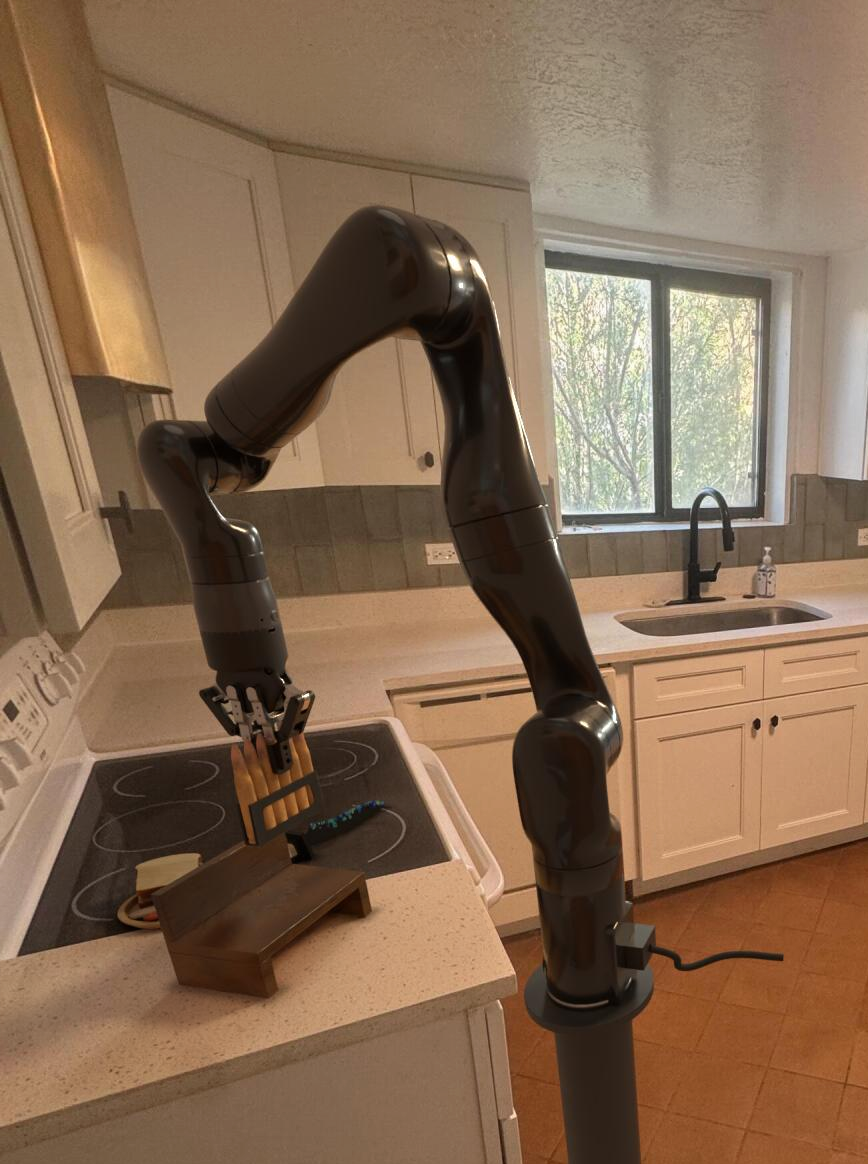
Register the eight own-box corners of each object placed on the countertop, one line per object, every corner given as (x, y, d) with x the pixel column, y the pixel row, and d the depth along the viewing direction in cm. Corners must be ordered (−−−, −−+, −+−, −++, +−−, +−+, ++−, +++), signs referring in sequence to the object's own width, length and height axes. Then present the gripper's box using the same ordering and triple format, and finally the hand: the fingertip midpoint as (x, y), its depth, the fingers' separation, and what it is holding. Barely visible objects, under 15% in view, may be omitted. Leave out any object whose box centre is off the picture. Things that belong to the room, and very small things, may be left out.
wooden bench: (372, 911, 104) (356, 830, 100) (268, 998, 87) (244, 906, 83) (293, 901, 106) (274, 822, 102) (178, 984, 90) (150, 894, 85)
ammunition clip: (258, 847, 87) (233, 747, 83) (244, 845, 88) (219, 746, 83) (325, 807, 97) (306, 715, 93) (312, 805, 97) (293, 714, 93)
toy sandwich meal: (108, 942, 97) (96, 909, 95) (134, 890, 109) (124, 860, 107) (226, 918, 102) (217, 887, 100) (239, 871, 114) (231, 842, 112)
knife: (236, 893, 106) (232, 862, 104) (219, 889, 106) (215, 858, 105) (399, 819, 134) (398, 795, 132) (385, 817, 135) (383, 792, 133)
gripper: (155, 626, 81) (196, 778, 88) (268, 632, 79) (302, 789, 85) (214, 612, 88) (249, 754, 94) (320, 617, 86) (349, 763, 92)
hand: (274, 770), depth 90 cm, fingers closed on ammunition clip, 1 cm apart
